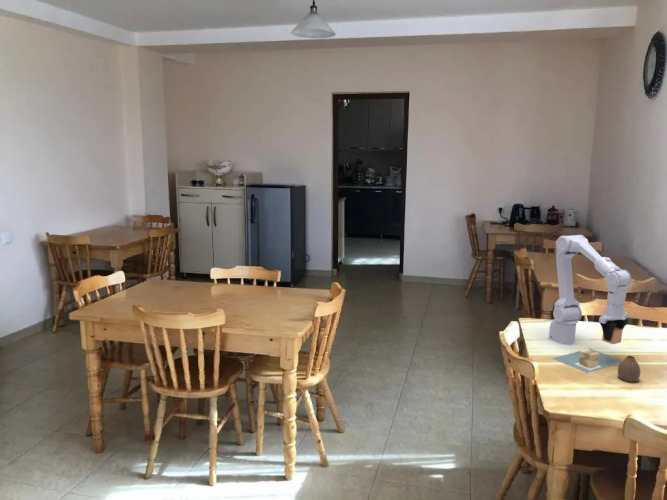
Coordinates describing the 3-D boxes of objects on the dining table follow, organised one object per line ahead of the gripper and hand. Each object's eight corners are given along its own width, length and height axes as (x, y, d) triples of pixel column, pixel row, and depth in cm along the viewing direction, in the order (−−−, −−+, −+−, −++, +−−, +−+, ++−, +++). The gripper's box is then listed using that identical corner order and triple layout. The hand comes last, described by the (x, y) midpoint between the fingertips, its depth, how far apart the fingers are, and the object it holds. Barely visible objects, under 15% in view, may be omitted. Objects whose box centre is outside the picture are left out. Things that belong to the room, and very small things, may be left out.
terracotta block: (602, 340, 208) (603, 327, 207) (609, 338, 210) (611, 325, 209) (613, 344, 204) (614, 331, 203) (620, 342, 207) (622, 329, 206)
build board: (551, 360, 211) (551, 357, 211) (589, 350, 222) (589, 348, 221) (586, 374, 198) (587, 372, 198) (625, 363, 209) (625, 361, 209)
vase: (611, 378, 195) (614, 354, 194) (626, 375, 198) (629, 352, 196) (628, 386, 189) (631, 361, 187) (643, 383, 192) (647, 359, 190)
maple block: (578, 364, 205) (580, 351, 204) (586, 361, 207) (588, 349, 206) (589, 368, 201) (591, 355, 200) (597, 366, 203) (599, 353, 202)
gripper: (613, 308, 198) (609, 345, 200) (638, 303, 205) (633, 339, 207) (595, 303, 203) (591, 339, 206) (620, 298, 211) (616, 333, 213)
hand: (611, 339), depth 207 cm, fingers closed on terracotta block, 4 cm apart
